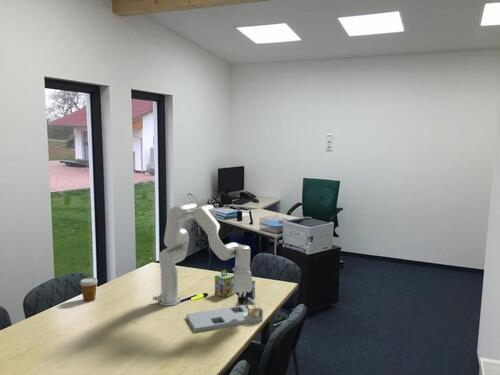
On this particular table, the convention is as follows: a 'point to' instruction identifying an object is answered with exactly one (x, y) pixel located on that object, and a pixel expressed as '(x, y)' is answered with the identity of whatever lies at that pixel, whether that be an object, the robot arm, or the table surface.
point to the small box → (250, 293)
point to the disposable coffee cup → (89, 289)
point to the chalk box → (223, 284)
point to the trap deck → (222, 317)
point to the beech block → (253, 311)
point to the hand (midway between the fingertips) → (241, 303)
